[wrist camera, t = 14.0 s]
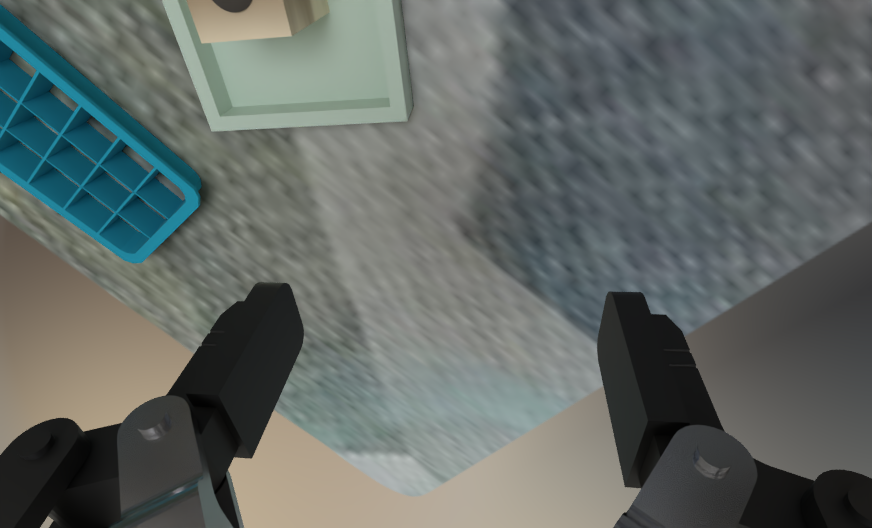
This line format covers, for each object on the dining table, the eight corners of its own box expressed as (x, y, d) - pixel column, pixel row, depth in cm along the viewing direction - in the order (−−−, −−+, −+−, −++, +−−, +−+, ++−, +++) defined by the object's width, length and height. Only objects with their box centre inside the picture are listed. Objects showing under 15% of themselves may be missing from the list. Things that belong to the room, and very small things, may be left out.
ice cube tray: (154, 249, 45) (135, 268, 43) (-76, 77, 37) (-115, 89, 34) (223, 182, 40) (205, 199, 37) (-28, -36, 32) (-70, -31, 29)
